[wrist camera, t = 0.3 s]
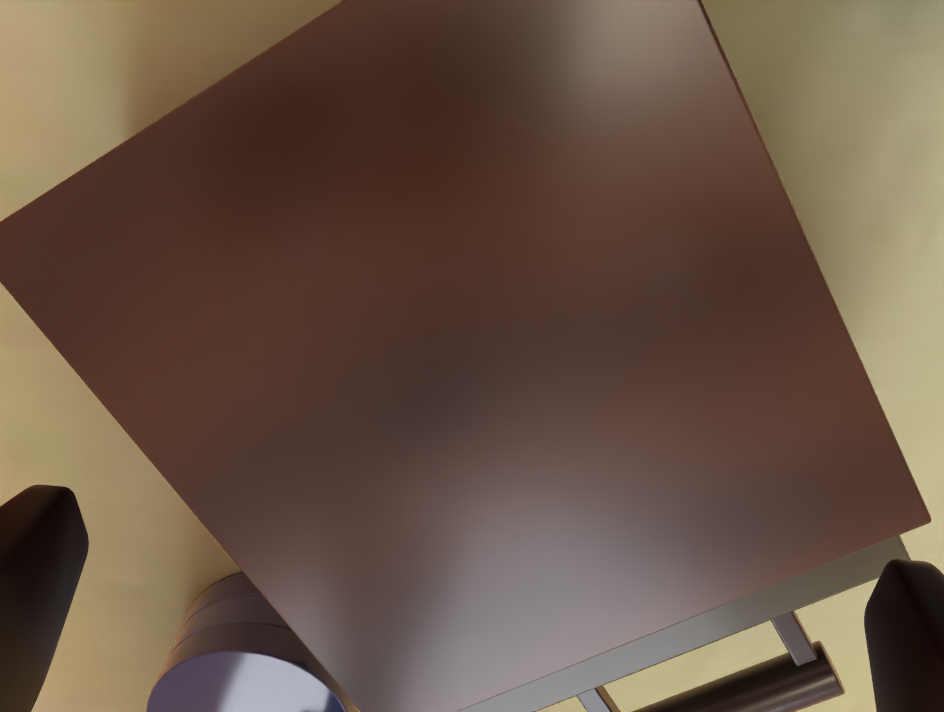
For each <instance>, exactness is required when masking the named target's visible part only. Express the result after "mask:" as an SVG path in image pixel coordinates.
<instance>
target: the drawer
mask: <svg viewBox="0 0 944 712" xmlns="http://www.w3.org/2000/svg"><path fill="white" fill-rule="evenodd" d="M894 559H901V560H911V559H910V557H909V555H908V552H907V550H906V548H905V546H904V544H903V542H902V539H901V537H900V535H898V536H895V537H893V538H890V539H888V540H885V541H883V542H880V543H878V544H875V545H873V546H870V547H868V548H865V549H863V550H860V551H858V552H855V553H853V554H850V555H848V556H845V557H843V558H840V559H838V560H835V561H833V562H830V563H828V564H825V565H823V566H820V567H818V568H815V569H813V570H810V571H808V572H805V573H803V574H800V575H798V576H795V577H793V578H790V579H788V580H785V581H783V582H780V583H778V584H775V585H773V586H770V587H768V588H765V589H763V590H760V591H758V592H755V593H753V594H750V595H748V596H745V597H743V598H740V599H738V600H735V601H733V602H730V603H728V604H725V605H723V606H720V607H718V608H715V609H713V610H710V611H708V612H705V613H703V614H700V615H698V616H695V617H693V618H690V619H688V620H685V621H683V622H680V623H678V624H675V625H673V626H670V627H668V628H665V629H663V630H660V631H658V632H655V633H653V634H650V635H648V636H645V637H643V638H640V639H638V640H635V641H633V642H630V643H628V644H625V645H623V646H620V647H618V648H615V649H613V650H610V651H608V652H605V653H603V654H600V655H598V656H595V657H593V658H590V659H588V660H585V661H583V662H580V663H578V664H575V665H573V666H570V667H568V668H565V669H563V670H560V671H558V672H555V673H553V674H550V675H548V676H545V677H543V678H540V679H538V680H535V681H533V682H530V683H528V684H525V685H523V686H520V687H518V688H515V689H513V690H510V691H508V692H505V693H503V694H500V695H498V696H495V697H493V698H490V699H488V700H485V701H483V702H480V703H478V704H475V705H473V706H470V707H468V708H465V709H463V710H460V711H458V712H536V711H538V710H541V709H543V708H546V707H549V706H551V705H554V704H556V703H559V702H561V701H564V700H567V699H569V698H572V697H574V696H577V697H578V699H579V700H580V702H581V703H582V704H583V706H584V707H585V709H586V710H587V712H620V710H619V709H618V707H617V706H616V704H615V703H614V701H613V700H612V698H611V697H610V696H609V694H608V693H607V691H606V690H605V688H604V687H603V685H605V684H608V683H610V682H613V681H615V680H618V679H620V678H623V677H625V676H628V675H631V674H633V673H636V672H638V671H641V670H643V669H646V668H648V667H651V666H654V665H656V664H659V663H661V662H664V661H666V660H669V659H672V658H674V657H677V656H679V655H682V654H684V653H687V652H689V651H692V650H695V649H697V648H700V647H702V646H705V645H707V644H710V643H713V642H715V641H718V640H720V639H723V638H725V637H728V636H730V635H733V634H736V633H738V632H741V631H743V630H746V629H748V628H751V627H753V626H756V625H759V624H761V623H764V622H766V621H769V620H771V622H772V623H773V625H774V627H775V629H776V631H777V632H778V634H779V636H780V638H781V640H782V641H783V643H784V645H785V647H786V648H787V650H788V653H785V654H783V655H780V656H777V657H775V658H772V659H769V660H767V661H764V662H762V663H759V664H756V665H754V666H751V667H748V668H746V669H743V670H740V671H738V672H735V673H733V674H730V675H727V676H725V677H722V678H719V679H717V680H714V681H711V682H709V683H706V684H704V685H701V686H698V687H696V688H693V689H690V690H688V691H685V692H682V693H680V694H677V695H675V696H672V697H669V698H667V699H664V700H661V701H659V702H656V703H653V704H651V705H648V706H646V707H643V708H640V709H638V710H635V711H632V712H796V711H798V710H801V709H804V708H807V707H809V706H812V705H815V704H818V703H820V702H823V701H826V700H829V699H831V698H834V697H837V696H840V695H843V694H844V693H845V690H844V687H843V685H842V682H841V680H840V678H839V676H838V674H837V672H836V669H835V667H834V665H833V663H832V661H831V659H830V657H829V655H828V653H827V651H826V650H825V648H824V646H823V644H822V643H821V642H820V641H817V642H814V643H812V642H811V640H810V638H809V636H808V635H807V633H806V631H805V629H804V627H803V625H802V624H801V622H800V620H799V618H798V616H797V614H796V613H795V611H794V610H797V609H800V608H802V607H805V606H807V605H810V604H812V603H815V602H818V601H820V600H823V599H825V598H828V597H830V596H833V595H835V594H838V593H841V592H843V591H846V590H848V589H851V588H853V587H856V586H858V585H861V584H864V583H866V582H869V581H871V580H874V579H876V578H879V577H880V576H881V574H882V572H883V570H884V568H885V566H886V564H887V563H889V562H890V561H891V560H894Z"/></svg>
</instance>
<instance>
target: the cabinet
mask: <svg viewBox="0 0 944 712" xmlns="http://www.w3.org/2000/svg"><path fill="white" fill-rule="evenodd" d="M0 282H1V283H2V284H3V285H4V287H5V288H6V289H7V290H8V291H9V293H10V294H11V295H12V296H13V297H14V299H15V300H16V301H17V302H18V303H19V305H20V306H21V307H22V308H23V309H24V311H25V312H26V313H27V314H28V315H29V317H30V318H31V319H32V320H33V321H34V323H35V324H36V325H37V326H38V327H39V328H40V330H41V331H42V332H43V333H44V334H45V336H46V337H47V338H48V339H49V340H50V342H51V343H52V344H53V345H54V346H55V348H56V349H57V350H58V351H59V352H60V354H61V355H62V356H63V357H64V358H65V360H66V361H67V362H68V363H69V364H70V365H71V367H72V368H73V369H74V370H75V371H76V373H77V374H78V375H79V376H80V377H81V379H82V380H83V381H84V382H85V383H86V385H87V386H88V387H89V388H90V389H91V391H92V392H93V393H94V394H95V395H96V397H97V398H98V399H99V400H100V401H101V402H102V404H103V405H104V406H105V407H106V408H107V410H108V411H109V412H110V413H111V414H112V416H113V417H114V418H115V419H116V420H117V422H118V423H119V424H120V425H121V426H122V428H123V429H124V430H125V431H126V432H127V434H128V435H129V436H130V437H131V438H132V440H133V441H134V442H135V443H136V444H137V445H138V447H139V448H140V449H141V450H142V451H143V453H144V454H145V455H146V456H147V457H148V459H149V460H150V461H151V462H152V463H153V465H154V466H155V467H156V468H157V469H158V471H159V472H160V473H161V474H162V475H163V477H164V478H165V479H166V480H167V481H168V482H169V484H170V485H171V486H172V487H173V488H174V490H175V491H176V492H177V493H178V494H179V496H180V497H181V498H182V499H183V500H184V502H185V503H186V504H187V505H188V506H189V508H190V509H191V510H192V511H193V512H194V514H195V515H196V516H197V517H198V518H199V520H200V521H201V522H202V523H203V524H204V525H205V527H206V528H207V529H208V530H209V531H210V533H211V534H212V535H213V536H214V537H215V539H216V540H217V541H218V542H219V543H220V545H221V546H222V547H223V548H224V549H225V551H226V552H227V553H228V554H229V555H230V557H231V558H232V559H233V560H234V561H235V562H236V564H237V565H238V566H239V567H240V568H241V570H242V571H243V572H244V573H245V574H246V576H247V577H248V578H249V579H250V580H251V582H252V583H253V584H254V585H255V586H256V588H257V589H258V590H259V591H260V592H261V594H262V595H263V596H264V597H265V598H266V599H267V601H268V602H269V603H270V604H271V605H272V607H273V608H274V609H275V610H276V611H277V613H278V614H279V615H280V616H281V617H282V619H283V620H284V621H285V622H286V623H287V625H288V626H289V627H290V628H291V629H292V631H293V632H294V633H295V634H296V635H297V637H298V638H299V639H300V640H301V641H302V642H303V644H304V645H305V646H306V647H307V648H308V650H309V651H310V652H311V653H312V654H313V656H314V657H315V658H316V659H317V660H318V662H319V663H320V664H321V665H322V666H323V668H324V669H325V670H326V671H327V672H328V674H329V675H330V676H331V677H332V678H333V679H334V681H335V682H336V683H337V684H338V685H339V687H340V688H341V689H342V690H343V691H344V693H345V694H346V695H347V696H348V697H349V699H350V700H351V701H352V702H353V703H354V705H355V706H356V707H357V708H358V709H359V711H360V712H458V711H460V710H463V709H465V708H468V707H470V706H473V705H475V704H478V703H480V702H483V701H485V700H488V699H490V698H493V697H495V696H498V695H500V694H503V693H505V692H508V691H510V690H513V689H515V688H518V687H520V686H523V685H525V684H528V683H530V682H533V681H535V680H538V679H540V678H543V677H545V676H548V675H550V674H553V673H555V672H558V671H560V670H563V669H565V668H568V667H570V666H573V665H575V664H578V663H580V662H583V661H585V660H588V659H590V658H593V657H595V656H598V655H600V654H603V653H605V652H608V651H610V650H613V649H615V648H618V647H620V646H623V645H625V644H628V643H630V642H633V641H635V640H638V639H640V638H643V637H645V636H648V635H650V634H653V633H655V632H658V631H660V630H663V629H665V628H668V627H670V626H673V625H675V624H678V623H680V622H683V621H685V620H688V619H690V618H693V617H695V616H698V615H700V614H703V613H705V612H708V611H710V610H713V609H715V608H718V607H720V606H723V605H725V604H728V603H730V602H733V601H735V600H738V599H740V598H743V597H745V596H748V595H750V594H753V593H755V592H758V591H760V590H763V589H765V588H768V587H770V586H773V585H775V584H778V583H780V582H783V581H785V580H788V579H790V578H793V577H795V576H798V575H800V574H803V573H805V572H808V571H810V570H813V569H815V568H818V567H820V566H823V565H825V564H828V563H830V562H833V561H835V560H838V559H840V558H843V557H845V556H848V555H850V554H853V553H855V552H858V551H860V550H863V549H865V548H868V547H870V546H873V545H875V544H878V543H880V542H883V541H885V540H888V539H890V538H893V537H895V536H898V535H900V534H903V533H905V532H908V531H910V530H913V529H915V528H918V527H920V526H923V525H925V524H928V523H930V522H931V517H930V514H929V512H928V510H927V508H926V505H925V503H924V501H923V499H922V496H921V494H920V492H919V490H918V487H917V485H916V483H915V481H914V478H913V476H912V474H911V472H910V469H909V467H908V465H907V463H906V460H905V458H904V456H903V454H902V451H901V449H900V447H899V445H898V442H897V440H896V438H895V436H894V433H893V431H892V429H891V427H890V424H889V422H888V420H887V418H886V415H885V413H884V411H883V409H882V406H881V404H880V402H879V400H878V397H877V395H876V393H875V391H874V388H873V386H872V384H871V382H870V379H869V377H868V375H867V373H866V370H865V368H864V366H863V364H862V361H861V359H860V357H859V355H858V352H857V350H856V348H855V346H854V343H853V341H852V339H851V337H850V334H849V332H848V330H847V328H846V325H845V323H844V321H843V319H842V316H841V314H840V312H839V310H838V307H837V305H836V303H835V301H834V298H833V296H832V294H831V292H830V289H829V287H828V285H827V283H826V280H825V278H824V276H823V274H822V271H821V269H820V267H819V265H818V262H817V260H816V258H815V256H814V253H813V251H812V249H811V247H810V244H809V242H808V240H807V238H806V235H805V233H804V231H803V229H802V226H801V224H800V222H799V220H798V217H797V215H796V213H795V211H794V208H793V206H792V204H791V202H790V199H789V197H788V195H787V193H786V190H785V188H784V186H783V184H782V182H781V179H780V177H779V175H778V173H777V170H776V168H775V166H774V164H773V161H772V159H771V157H770V155H769V152H768V150H767V148H766V146H765V143H764V141H763V139H762V137H761V134H760V132H759V130H758V128H757V125H756V123H755V121H754V119H753V116H752V114H751V112H750V110H749V107H748V105H747V103H746V101H745V98H744V96H743V94H742V92H741V89H740V87H739V85H738V83H737V80H736V78H735V76H734V74H733V71H732V69H731V67H730V65H729V62H728V60H727V58H726V56H725V53H724V51H723V49H722V47H721V44H720V42H719V40H718V38H717V35H716V33H715V31H714V29H713V26H712V24H711V22H710V20H709V17H708V15H707V13H706V11H705V8H704V6H703V4H702V2H701V0H343V1H341V2H340V3H338V4H337V5H335V6H333V7H332V8H330V9H329V10H327V11H326V12H324V13H323V14H321V15H320V16H318V17H316V18H315V19H313V20H312V21H310V22H309V23H307V24H306V25H304V26H302V27H301V28H299V29H298V30H296V31H295V32H293V33H292V34H290V35H289V36H287V37H285V38H284V39H282V40H281V41H279V42H278V43H276V44H275V45H273V46H272V47H270V48H268V49H267V50H265V51H264V52H262V53H261V54H259V55H258V56H256V57H255V58H253V59H251V60H250V61H248V62H247V63H245V64H244V65H242V66H241V67H239V68H238V69H236V70H234V71H233V72H231V73H230V74H228V75H227V76H225V77H224V78H222V79H221V80H219V81H217V82H216V83H214V84H213V85H211V86H210V87H208V88H207V89H205V90H204V91H202V92H200V93H199V94H197V95H196V96H194V97H193V98H191V99H190V100H188V101H187V102H185V103H183V104H182V105H180V106H179V107H177V108H176V109H174V110H173V111H171V112H170V113H168V114H166V115H165V116H163V117H162V118H160V119H159V120H157V121H156V122H154V123H153V124H151V125H149V126H148V127H146V128H145V129H143V130H142V131H140V132H139V133H137V134H136V135H134V136H132V137H131V138H129V139H128V140H126V141H125V142H123V143H122V144H120V145H119V146H117V147H115V148H114V149H112V150H111V151H109V152H108V153H106V154H105V155H103V156H102V157H100V158H98V159H97V160H95V161H94V162H92V163H91V164H89V165H88V166H86V167H84V168H83V169H81V170H80V171H78V172H77V173H75V174H74V175H72V176H71V177H69V178H67V179H66V180H64V181H63V182H61V183H60V184H58V185H57V186H55V187H54V188H52V189H50V190H49V191H47V192H46V193H44V194H43V195H41V196H40V197H38V198H37V199H35V200H33V201H32V202H30V203H29V204H27V205H26V206H24V207H23V208H21V209H20V210H18V211H16V212H15V213H13V214H12V215H10V216H9V217H7V218H6V219H4V220H3V221H1V222H0Z"/></svg>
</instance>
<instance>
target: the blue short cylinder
mask: <svg viewBox="0 0 944 712" xmlns="http://www.w3.org/2000/svg"><path fill="white" fill-rule="evenodd" d="M146 712H359V709H358V708H357V707H356V706H355V705H354V703H353V702H352V701H351V700H350V699H349V697H348V696H347V695H346V694H345V693H344V691H343V690H342V689H341V688H340V687H339V685H338V684H337V683H336V682H335V681H334V679H333V678H332V677H331V676H330V675H329V674H328V672H327V671H326V670H325V669H324V668H323V666H322V665H321V664H320V663H319V662H318V660H317V659H316V658H315V657H314V656H313V654H312V653H311V652H310V651H309V650H308V648H307V647H306V646H305V645H304V644H303V642H302V641H301V640H300V639H299V638H298V637H297V635H296V634H295V633H294V632H293V631H292V629H291V628H290V627H289V626H288V625H287V623H286V622H285V621H284V620H283V619H282V617H281V616H280V615H279V614H278V613H277V611H276V610H275V609H274V608H273V607H272V605H271V604H270V603H269V602H268V601H267V599H266V598H265V597H264V596H263V595H262V594H261V592H260V591H259V590H258V589H257V588H256V586H255V585H254V584H253V583H252V582H251V580H250V579H249V578H248V577H247V576H246V574H245V573H240V574H236V575H233V576H230V577H227V578H225V579H223V580H221V581H219V582H217V583H215V584H214V585H212V586H211V587H209V588H208V589H207V590H205V591H204V592H203V593H202V594H201V595H200V596H199V597H198V598H197V599H196V601H195V602H194V603H193V605H192V607H191V608H190V610H189V612H188V614H187V617H186V619H185V621H184V623H183V625H182V627H181V629H180V631H179V634H178V636H177V638H176V640H175V642H174V644H173V646H172V648H171V651H170V653H169V655H168V657H167V659H166V661H165V663H164V665H163V668H162V670H161V672H160V674H159V676H158V678H157V680H156V682H155V685H154V687H153V689H152V691H151V694H150V696H149V699H148V703H147V709H146Z"/></svg>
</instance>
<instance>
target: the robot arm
mask: <svg viewBox="0 0 944 712" xmlns="http://www.w3.org/2000/svg"><path fill="white" fill-rule="evenodd" d="M88 546H89V541H88V534H87V531H86V528H85V524H84V521H83V518H82V515H81V512H80V509H79V506H78V503H77V500H76V497H75V495H74V493H73V492H72V491H71V490H70V489H69V488H67V487H61V486H50V485H33V486H31V487H28V488H27V489H25V490H23V491H22V492H21V493H19V494H18V495H16V496H15V497H13V498H12V499H10V500H9V501H8V502H6V503H5V504H3V505H2V506H0V712H31V711H32V708H33V706H34V704H35V702H36V700H37V697H38V695H39V693H40V690H41V688H42V686H43V683H44V681H45V678H46V676H47V673H48V670H49V667H50V665H51V662H52V659H53V656H54V653H55V650H56V647H57V644H58V641H59V638H60V635H61V632H62V629H63V626H64V623H65V620H66V617H67V614H68V611H69V608H70V605H71V602H72V599H73V596H74V593H75V590H76V587H77V584H78V581H79V578H80V575H81V572H82V569H83V566H84V563H85V561H86V557H87V553H88ZM864 626H865V634H866V641H867V648H868V655H869V661H870V668H871V675H872V682H873V689H874V695H875V702H876V709H877V712H944V574H943V573H942V572H941V571H940V570H939V569H937V568H936V567H935V566H933V565H932V564H930V563H928V562H923V561H913V560H901V559H894V560H891V561H890V562H889V563H887V564H886V566H885V568H884V570H883V572H882V574H881V576H880V578H879V580H878V582H877V584H876V586H875V588H874V590H873V593H872V595H871V597H870V599H869V601H868V603H867V606H866V609H865V616H864Z"/></svg>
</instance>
